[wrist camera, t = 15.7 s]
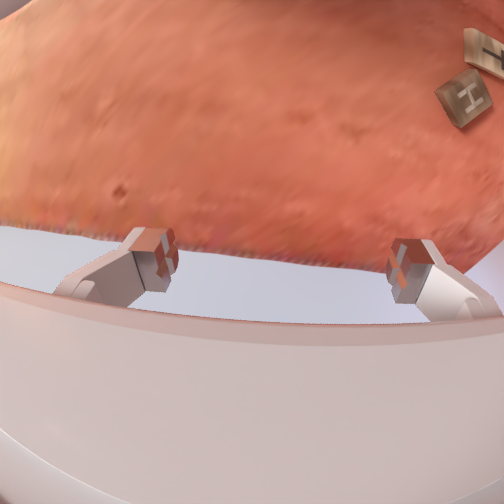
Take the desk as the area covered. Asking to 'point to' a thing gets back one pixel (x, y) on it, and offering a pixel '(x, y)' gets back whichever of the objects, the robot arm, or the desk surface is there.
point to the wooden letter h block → (464, 97)
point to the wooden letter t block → (484, 52)
